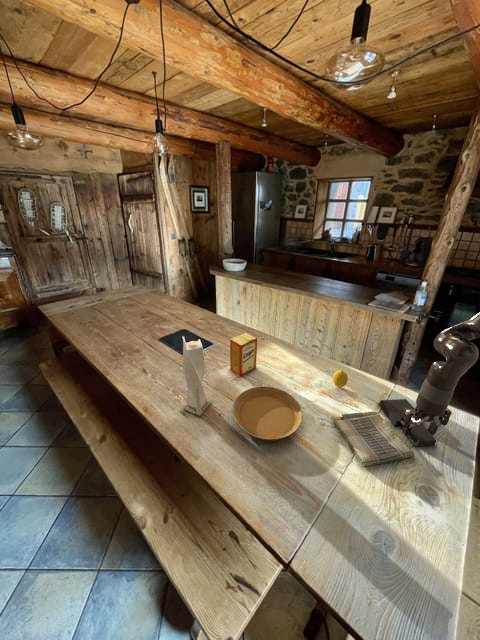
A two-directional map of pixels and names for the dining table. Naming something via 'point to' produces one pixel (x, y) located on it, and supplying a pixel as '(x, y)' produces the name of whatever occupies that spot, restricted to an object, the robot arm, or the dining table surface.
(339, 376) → the lemon
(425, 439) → the pad
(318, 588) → the dining table surface
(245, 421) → the plant saucer
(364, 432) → the dish towel
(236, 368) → the baking soda box
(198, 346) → the skyscraper
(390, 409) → the notch pad
